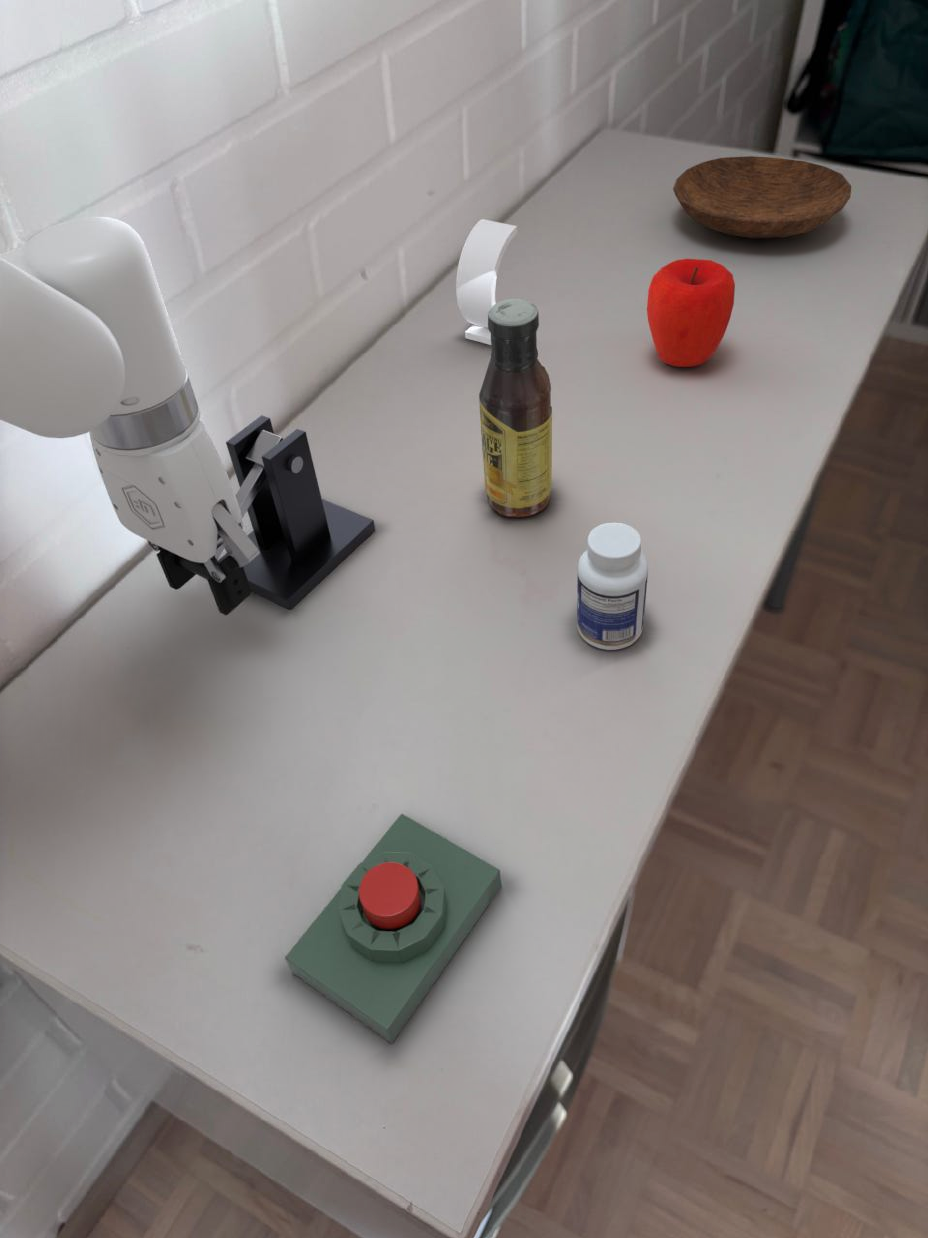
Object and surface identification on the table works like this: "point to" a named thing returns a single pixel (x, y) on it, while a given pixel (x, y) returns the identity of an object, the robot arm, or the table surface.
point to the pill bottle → (611, 587)
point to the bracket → (292, 519)
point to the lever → (241, 492)
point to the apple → (689, 310)
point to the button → (390, 895)
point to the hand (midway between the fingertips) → (210, 589)
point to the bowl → (761, 195)
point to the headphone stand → (481, 274)
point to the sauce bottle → (516, 413)
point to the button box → (395, 930)
